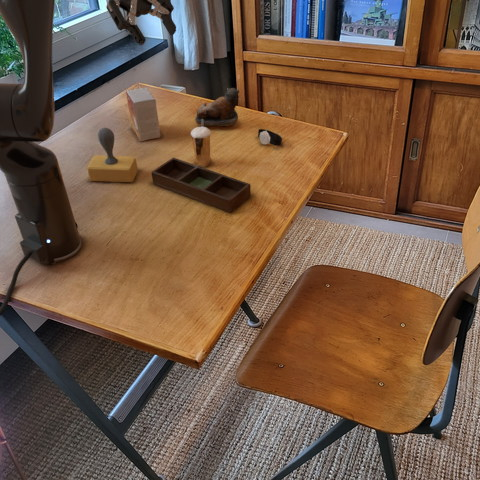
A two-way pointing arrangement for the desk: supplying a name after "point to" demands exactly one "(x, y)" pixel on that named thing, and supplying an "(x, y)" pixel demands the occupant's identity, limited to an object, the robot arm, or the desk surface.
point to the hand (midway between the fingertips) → (158, 37)
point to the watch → (269, 137)
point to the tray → (202, 184)
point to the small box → (143, 113)
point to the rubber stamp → (111, 162)
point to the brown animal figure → (220, 110)
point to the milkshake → (201, 144)
